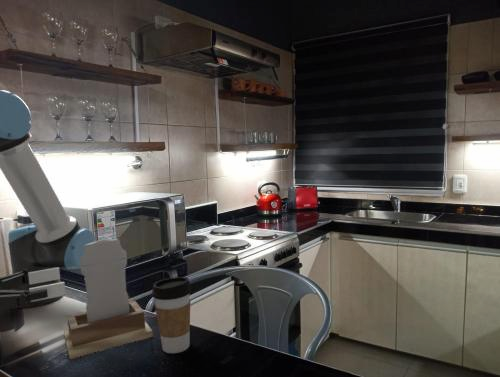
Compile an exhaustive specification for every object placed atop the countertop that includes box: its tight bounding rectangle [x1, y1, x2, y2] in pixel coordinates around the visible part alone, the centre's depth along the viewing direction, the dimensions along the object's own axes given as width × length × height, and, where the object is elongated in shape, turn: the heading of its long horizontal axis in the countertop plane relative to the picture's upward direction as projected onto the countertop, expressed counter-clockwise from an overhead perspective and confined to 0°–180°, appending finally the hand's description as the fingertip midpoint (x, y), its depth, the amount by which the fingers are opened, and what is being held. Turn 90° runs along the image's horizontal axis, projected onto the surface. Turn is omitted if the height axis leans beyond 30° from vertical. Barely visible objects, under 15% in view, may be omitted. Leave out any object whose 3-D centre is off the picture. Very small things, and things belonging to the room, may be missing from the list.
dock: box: [63, 300, 154, 360], centre depth 97 cm, size 14×18×6 cm
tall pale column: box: [79, 238, 130, 323], centre depth 96 cm, size 11×4×22 cm, turn 123°
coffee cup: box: [151, 276, 192, 354], centre depth 90 cm, size 8×8×15 cm
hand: (62, 280), depth 92 cm, fingers open, 13 cm apart
